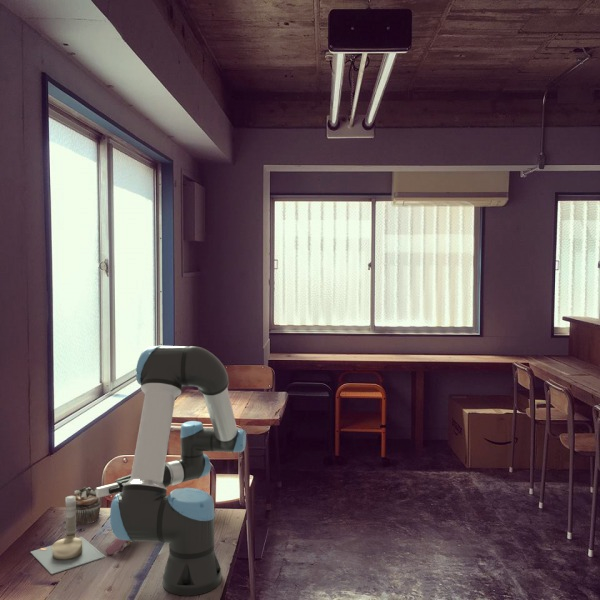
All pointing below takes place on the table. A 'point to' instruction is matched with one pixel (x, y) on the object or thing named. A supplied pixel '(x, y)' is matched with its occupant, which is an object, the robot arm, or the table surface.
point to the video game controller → (117, 546)
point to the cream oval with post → (68, 534)
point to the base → (59, 565)
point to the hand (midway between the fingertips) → (97, 492)
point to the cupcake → (87, 505)
